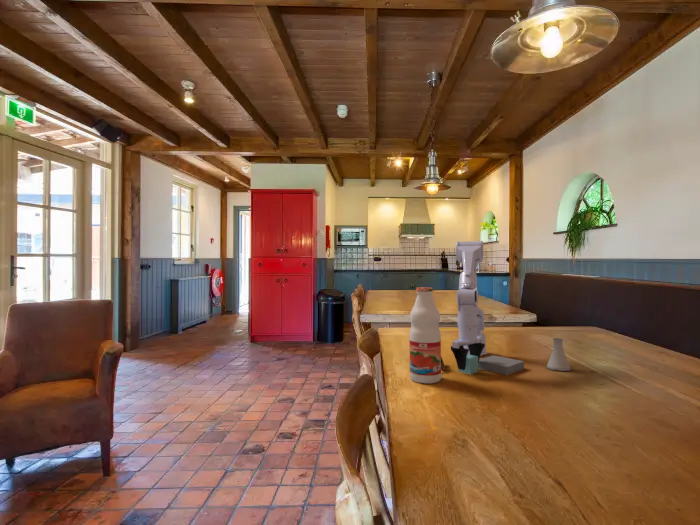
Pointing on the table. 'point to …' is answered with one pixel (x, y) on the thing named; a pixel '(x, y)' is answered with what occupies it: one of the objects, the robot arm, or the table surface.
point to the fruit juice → (425, 339)
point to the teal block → (470, 365)
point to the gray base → (500, 365)
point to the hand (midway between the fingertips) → (468, 367)
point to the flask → (558, 357)
